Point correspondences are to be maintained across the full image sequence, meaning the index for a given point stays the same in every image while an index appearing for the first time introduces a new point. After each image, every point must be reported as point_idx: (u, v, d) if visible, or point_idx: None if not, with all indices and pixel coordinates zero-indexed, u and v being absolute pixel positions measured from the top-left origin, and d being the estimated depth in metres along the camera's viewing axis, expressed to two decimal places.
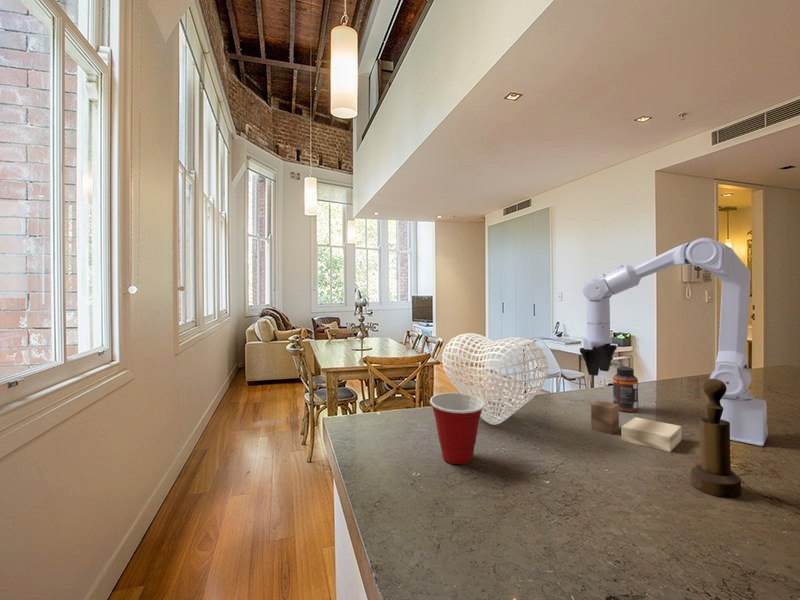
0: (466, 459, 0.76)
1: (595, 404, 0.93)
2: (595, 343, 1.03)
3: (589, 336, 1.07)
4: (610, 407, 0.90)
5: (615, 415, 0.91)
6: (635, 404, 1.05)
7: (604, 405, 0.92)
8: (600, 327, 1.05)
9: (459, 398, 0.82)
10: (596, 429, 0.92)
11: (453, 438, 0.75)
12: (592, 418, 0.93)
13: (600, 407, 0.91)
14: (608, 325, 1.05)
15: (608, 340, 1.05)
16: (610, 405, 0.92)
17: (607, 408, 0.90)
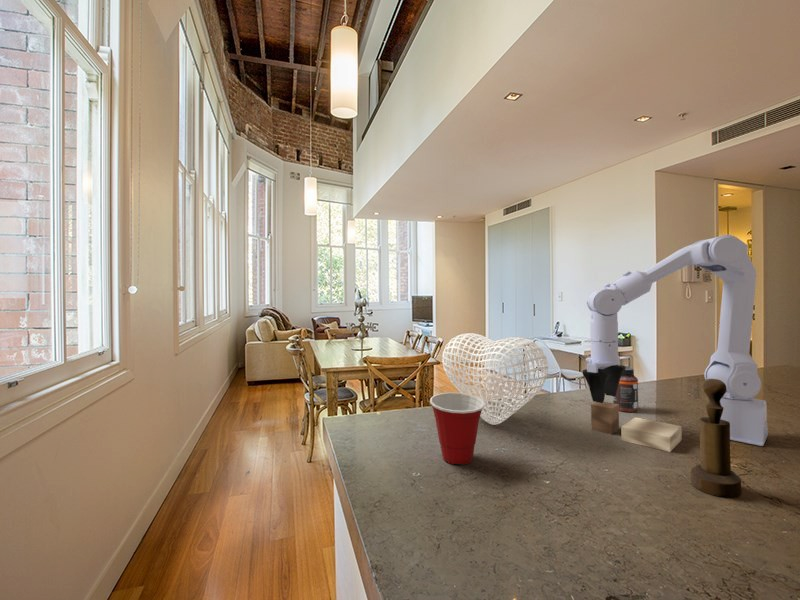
0: (466, 459, 0.76)
1: (595, 404, 0.93)
2: (601, 365, 0.88)
3: (594, 356, 0.92)
4: (610, 407, 0.90)
5: (615, 415, 0.91)
6: (635, 404, 1.05)
7: (604, 405, 0.92)
8: (606, 346, 0.90)
9: (459, 398, 0.82)
10: (596, 429, 0.92)
11: (453, 438, 0.75)
12: (592, 418, 0.93)
13: (600, 407, 0.91)
14: (616, 343, 0.90)
15: (616, 361, 0.90)
16: (610, 405, 0.92)
17: (607, 408, 0.90)
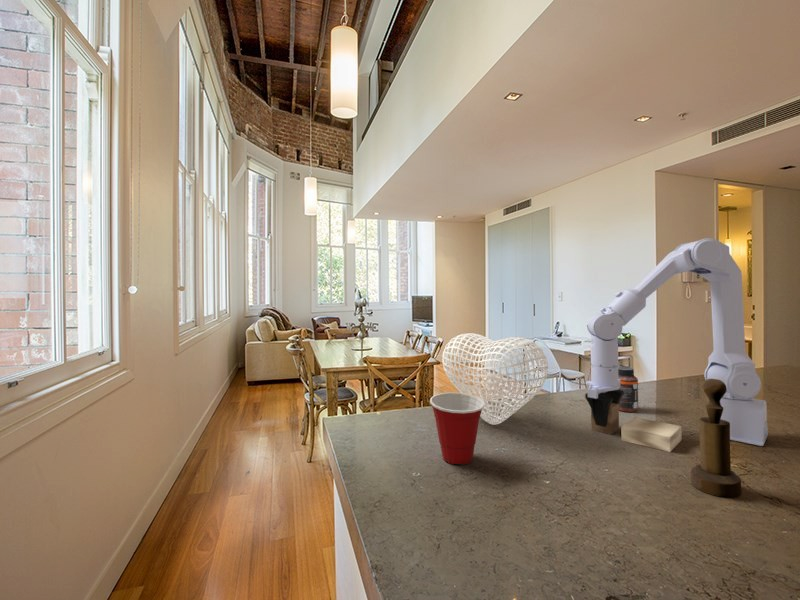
0: (466, 459, 0.76)
1: None
2: (601, 390, 0.88)
3: (594, 380, 0.92)
4: (610, 407, 0.90)
5: (615, 415, 0.91)
6: (635, 404, 1.05)
7: None
8: (607, 371, 0.90)
9: (459, 398, 0.82)
10: (596, 429, 0.92)
11: (453, 438, 0.75)
12: (592, 418, 0.93)
13: None
14: (616, 368, 0.90)
15: (616, 386, 0.90)
16: (610, 405, 0.92)
17: None
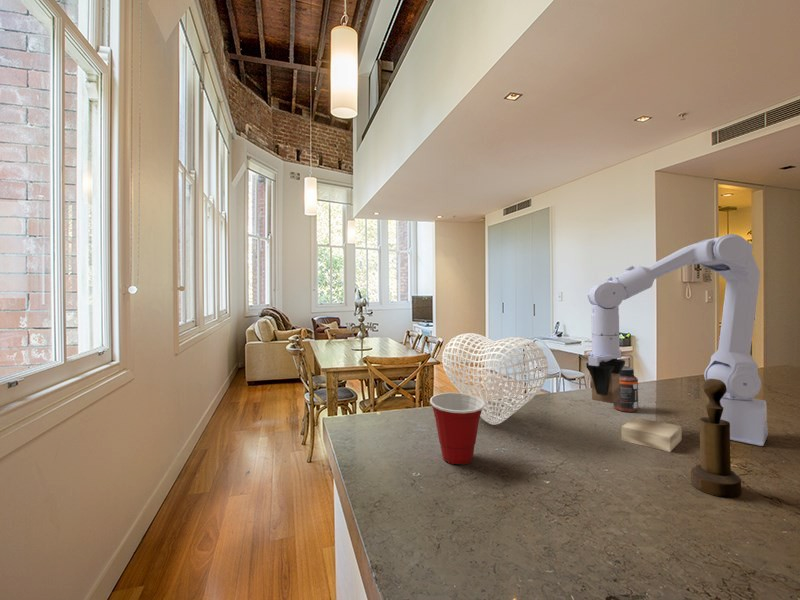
0: (466, 459, 0.76)
1: None
2: (602, 358, 0.88)
3: (595, 349, 0.91)
4: (611, 376, 0.90)
5: (616, 384, 0.91)
6: (635, 404, 1.05)
7: None
8: (608, 339, 0.89)
9: (459, 398, 0.82)
10: (597, 399, 0.92)
11: (453, 438, 0.75)
12: (592, 388, 0.92)
13: None
14: (617, 337, 0.90)
15: (617, 354, 0.90)
16: (611, 374, 0.91)
17: None
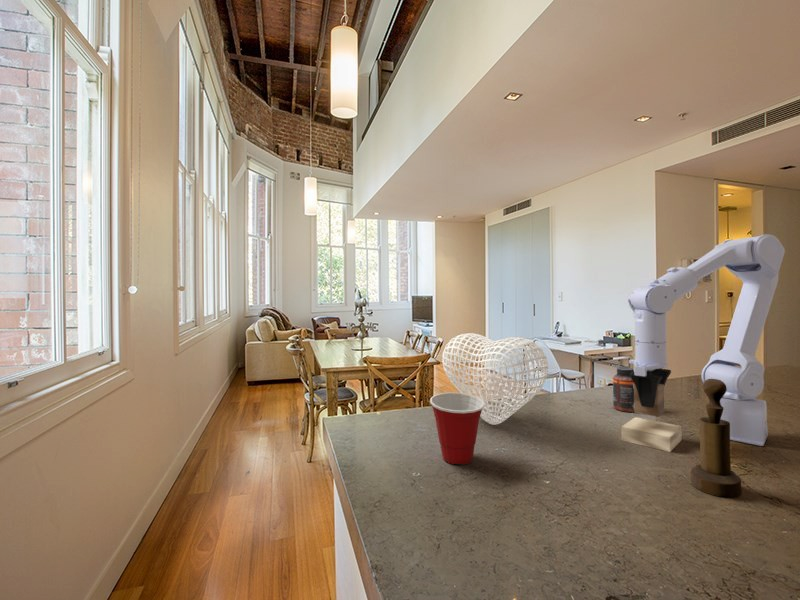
0: (466, 459, 0.76)
1: None
2: (649, 368, 0.81)
3: (640, 358, 0.85)
4: None
5: (661, 396, 0.84)
6: None
7: None
8: (655, 347, 0.83)
9: (459, 398, 0.82)
10: (640, 411, 0.85)
11: (453, 438, 0.75)
12: (635, 400, 0.86)
13: None
14: (664, 344, 0.83)
15: (664, 364, 0.83)
16: None
17: None
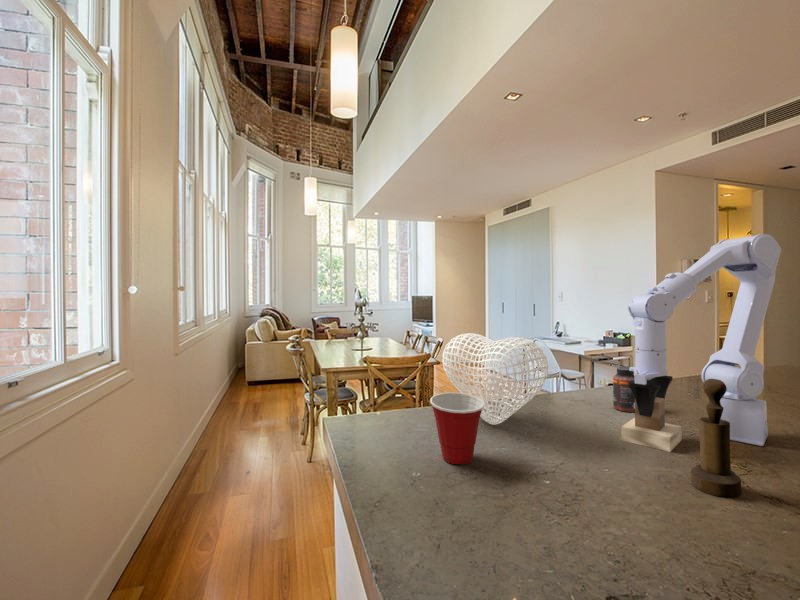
0: (466, 459, 0.76)
1: None
2: (649, 376, 0.81)
3: (640, 365, 0.85)
4: (657, 401, 0.83)
5: (661, 410, 0.84)
6: None
7: None
8: (655, 355, 0.83)
9: (459, 398, 0.83)
10: (641, 425, 0.85)
11: (453, 438, 0.75)
12: (635, 414, 0.86)
13: None
14: (665, 352, 0.83)
15: (665, 371, 0.83)
16: (656, 399, 0.85)
17: (654, 402, 0.83)
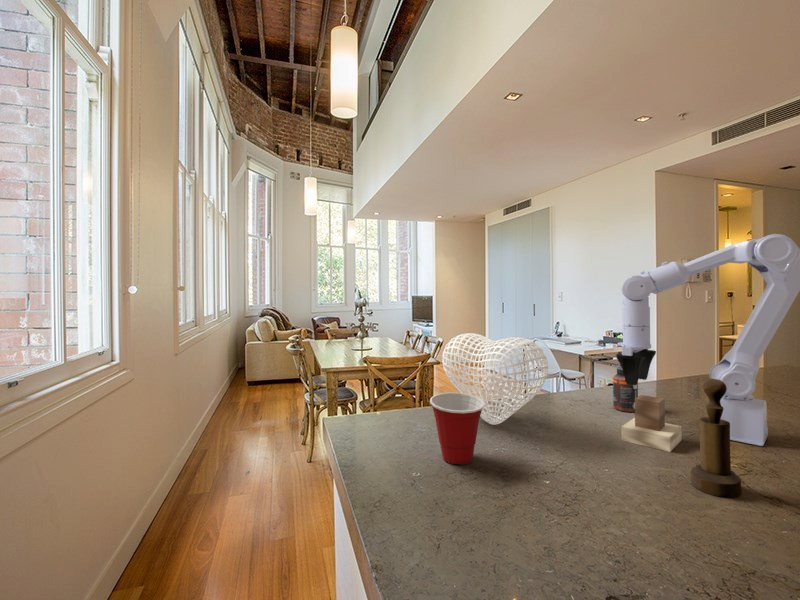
0: (466, 459, 0.76)
1: (639, 398, 0.86)
2: (635, 348, 0.91)
3: (627, 340, 0.95)
4: (657, 401, 0.83)
5: (661, 410, 0.84)
6: None
7: (650, 400, 0.85)
8: (640, 330, 0.93)
9: (459, 398, 0.82)
10: (641, 425, 0.85)
11: (453, 438, 0.75)
12: (635, 414, 0.86)
13: (645, 401, 0.84)
14: (648, 328, 0.93)
15: (648, 345, 0.93)
16: (656, 399, 0.85)
17: (654, 402, 0.83)
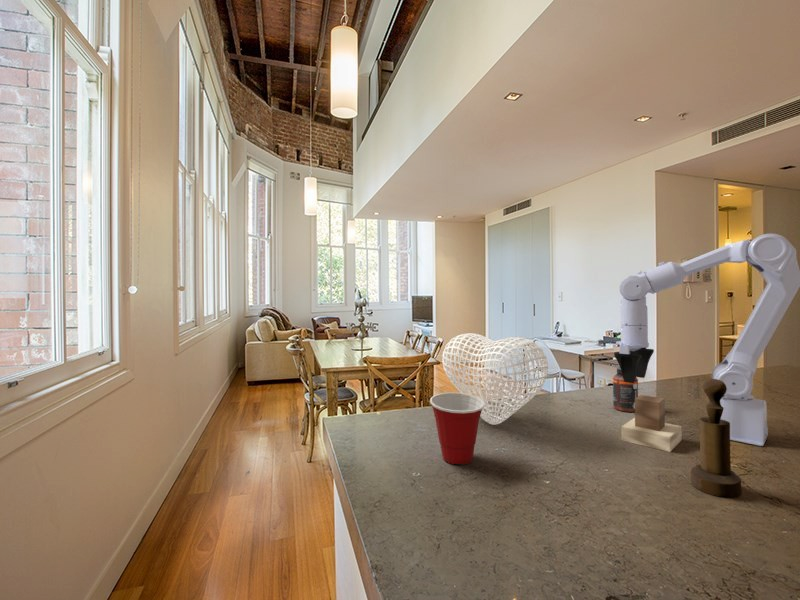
0: (466, 459, 0.76)
1: (639, 398, 0.86)
2: (632, 347, 0.93)
3: (625, 339, 0.97)
4: (657, 401, 0.83)
5: (661, 410, 0.84)
6: None
7: (650, 400, 0.85)
8: (637, 329, 0.95)
9: (459, 398, 0.82)
10: (641, 425, 0.85)
11: (453, 438, 0.75)
12: (635, 414, 0.86)
13: (645, 401, 0.84)
14: (646, 327, 0.95)
15: (646, 344, 0.95)
16: (656, 399, 0.85)
17: (654, 402, 0.83)
